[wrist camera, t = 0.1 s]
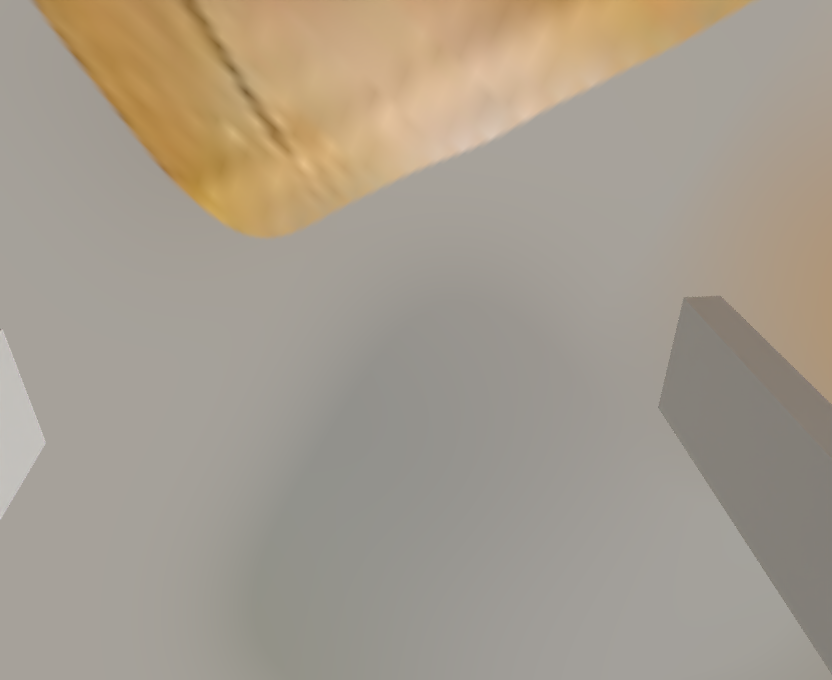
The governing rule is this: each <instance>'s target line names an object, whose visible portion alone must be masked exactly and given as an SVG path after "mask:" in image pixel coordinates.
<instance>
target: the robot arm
mask: <svg viewBox="0 0 832 680" xmlns="http://www.w3.org/2000/svg"><path fill="white" fill-rule="evenodd" d="M658 408H659V409H660V411H661V413H662V414H663V416H664V417H665V419H666V420H667V422H668V423H669V425H670V426H671V428H672V429H673V431H674V433H675V434H676V436H677V437H678V439H679V440H680V442H681V443H682V445H683V446H684V448H685V449H686V451H687V452H688V454H689V456H690V457H691V459H692V460H693V462H694V463H695V465H696V466H697V468H698V469H699V471H700V472H701V474H702V475H703V477H704V479H705V480H706V482H707V483H708V484H709V486H710V488H711V489H712V491H713V492H714V494H715V495H716V497H717V499H718V500H719V502H720V503H721V505H722V506H723V508H724V509H725V511H726V512H727V514H728V515H729V517H730V518H731V520H732V522H733V523H734V524H735V526H736V527H737V529H738V531H739V532H740V534H741V535H742V537H743V538H744V540H745V542H746V543H747V545H748V546H749V548H750V549H751V551H752V552H753V554H754V555H755V557H756V558H757V560H758V561H759V563H760V565H761V566H762V568H763V569H764V571H765V572H766V574H767V575H768V577H769V578H770V580H771V581H772V583H773V585H774V586H775V588H776V589H777V590H778V592H779V594H780V595H781V597H782V598H783V600H784V601H785V603H786V604H787V606H788V607H789V609H790V610H791V612H792V614H793V615H794V617H795V618H796V620H797V621H798V623H799V624H800V626H801V628H802V629H803V631H804V632H805V634H806V635H807V637H808V638H809V640H810V641H811V643H812V644H813V646H814V647H815V649H816V651H817V652H818V654H819V655H820V657H821V658H822V660H823V661H824V663H825V664H826V666H827V667H828V669H829V671H830V672H831V674H832V404H831V403H829V402H828V401H827V400H826V399H825V398H824V397H823V396H822V395H821V394H820V393H819V392H818V391H817V390H816V389H815V388H814V387H813V386H812V385H811V384H810V383H809V382H808V381H807V380H806V379H805V378H804V377H803V376H802V375H801V374H800V373H799V372H798V371H797V370H796V369H795V368H794V367H793V366H792V365H791V364H790V363H789V362H788V361H787V360H786V359H785V358H784V357H782V356H781V355H780V354H779V353H778V352H777V351H776V350H775V349H774V348H773V347H772V346H771V345H770V344H769V343H768V342H767V341H766V340H765V339H764V338H763V337H762V336H761V335H760V334H759V333H758V332H757V331H756V330H755V329H754V328H753V327H752V326H751V325H750V324H749V323H748V322H747V321H746V320H745V319H744V318H743V317H742V316H741V315H740V314H739V313H738V312H736V310H734V309H733V308H732V307H731V306H730V305H729V304H728V303H727V302H726V301H725V300H724V299H723V298H722V297H721V296H706V297H685V298H684V299H683V303H682V308H681V312H680V316H679V320H678V325H677V329H676V333H675V338H674V342H673V346H672V350H671V355H670V359H669V363H668V368H667V372H666V377H665V380H664V385H663V389H662V394H661V398H660V402H659V406H658ZM45 443H46V442H45V439H44V437H43V434H42V431H41V429H40V426H39V423H38V421H37V418H36V416H35V413H34V410H33V408H32V405H31V402H30V400H29V397H28V395H27V392H26V389H25V387H24V384H23V381H22V379H21V376H20V374H19V371H18V368H17V366H16V363H15V360H14V358H13V355H12V353H11V350H10V347H9V345H8V342H7V339H6V337H5V335H4V332H3V329H0V520H1V518H2V516H3V515H4V513H5V511H6V510H7V508H8V506H9V504H10V503H11V501H12V499H13V498H14V496H15V494H16V492H17V491H18V489H19V487H20V486H21V484H22V482H23V481H24V479H25V477H26V476H27V474H28V472H29V470H30V469H31V467H32V465H33V464H34V462H35V460H36V459H37V457H38V455H39V453H40V452H41V450H42V449H43V447H44V445H45Z"/></svg>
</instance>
